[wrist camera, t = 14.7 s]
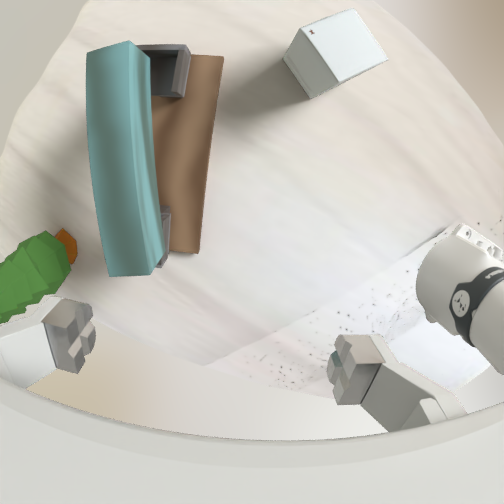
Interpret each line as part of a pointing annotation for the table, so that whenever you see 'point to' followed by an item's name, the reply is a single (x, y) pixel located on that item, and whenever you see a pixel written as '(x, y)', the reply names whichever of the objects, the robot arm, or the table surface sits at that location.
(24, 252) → the decorative tree
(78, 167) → the table surface
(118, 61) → the teal rail
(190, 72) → the bracket stand
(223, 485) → the robot arm
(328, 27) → the supplement box
